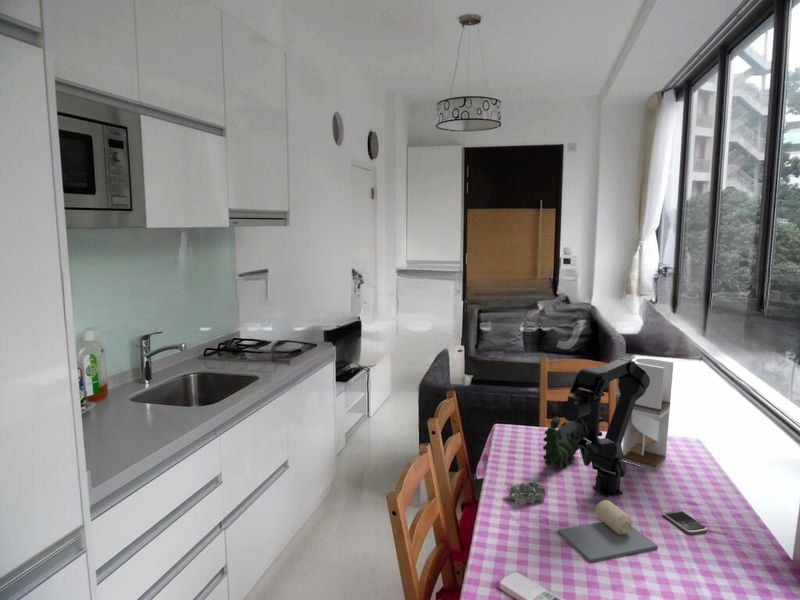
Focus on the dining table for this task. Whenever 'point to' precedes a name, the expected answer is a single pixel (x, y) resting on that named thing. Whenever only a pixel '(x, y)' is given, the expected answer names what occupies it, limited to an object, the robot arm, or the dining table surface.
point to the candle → (614, 517)
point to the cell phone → (684, 522)
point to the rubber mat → (605, 541)
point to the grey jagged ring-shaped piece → (526, 492)
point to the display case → (650, 417)
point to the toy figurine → (558, 446)
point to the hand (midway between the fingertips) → (586, 465)
